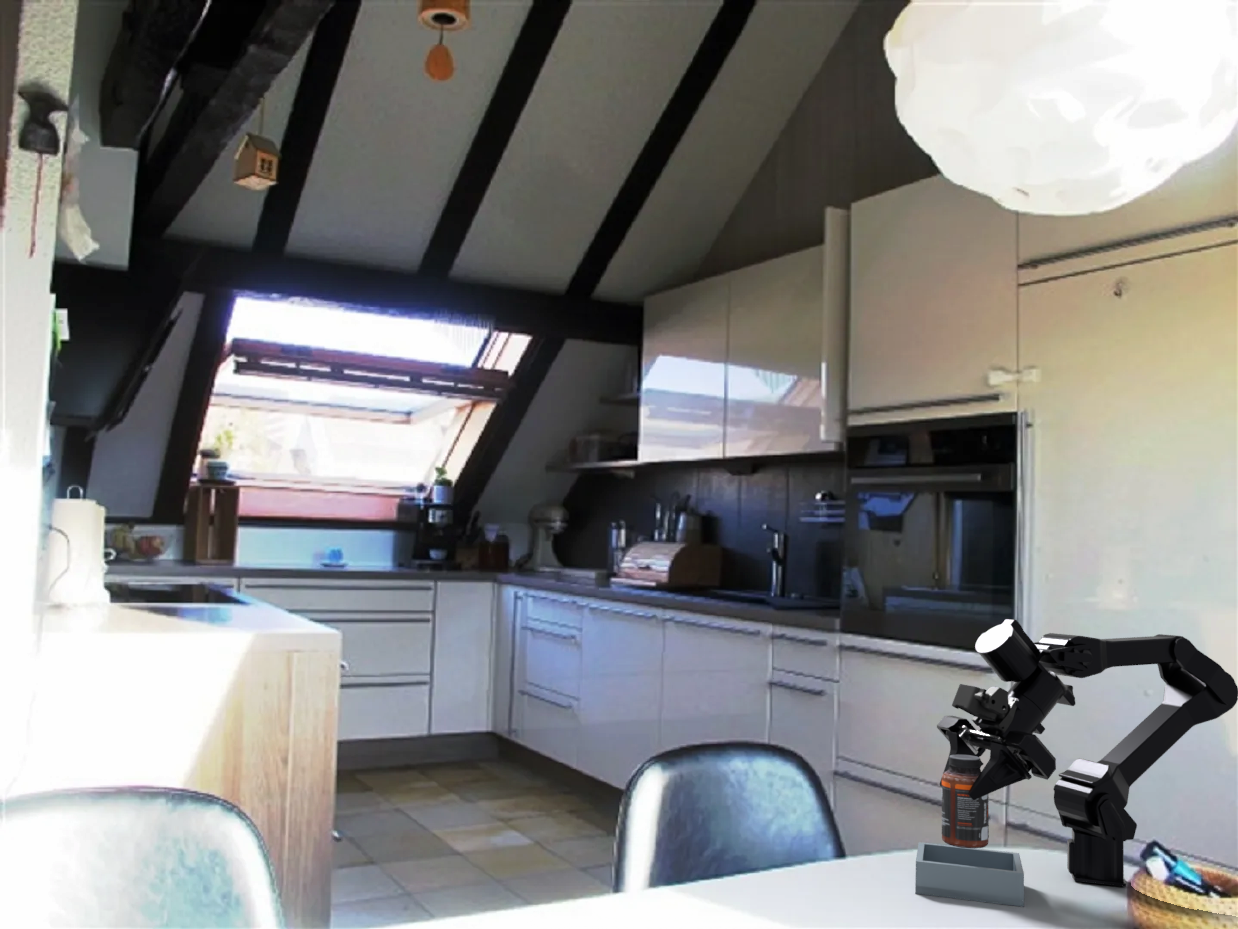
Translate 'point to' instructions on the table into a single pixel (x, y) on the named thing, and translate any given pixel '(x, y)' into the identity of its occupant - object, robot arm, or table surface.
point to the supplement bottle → (963, 805)
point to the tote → (969, 874)
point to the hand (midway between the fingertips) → (956, 792)
